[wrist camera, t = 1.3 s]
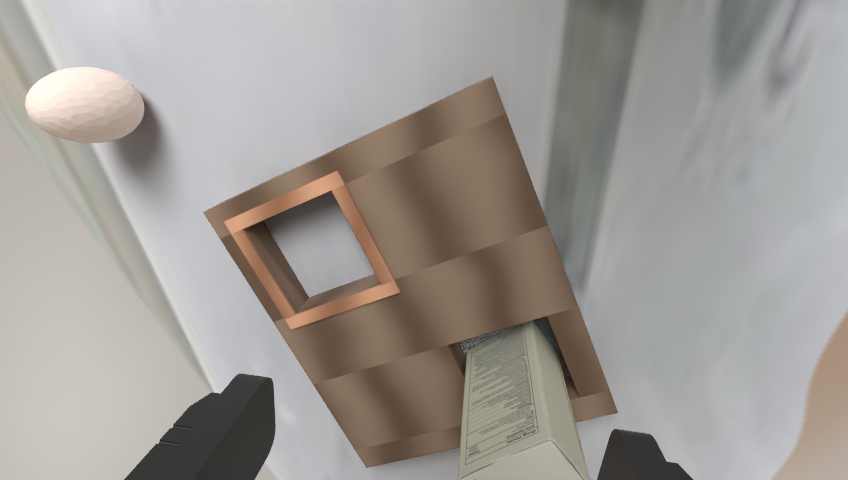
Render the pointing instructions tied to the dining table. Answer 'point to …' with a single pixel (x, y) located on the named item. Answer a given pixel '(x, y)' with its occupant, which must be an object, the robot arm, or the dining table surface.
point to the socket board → (416, 273)
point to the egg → (85, 105)
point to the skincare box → (518, 412)
